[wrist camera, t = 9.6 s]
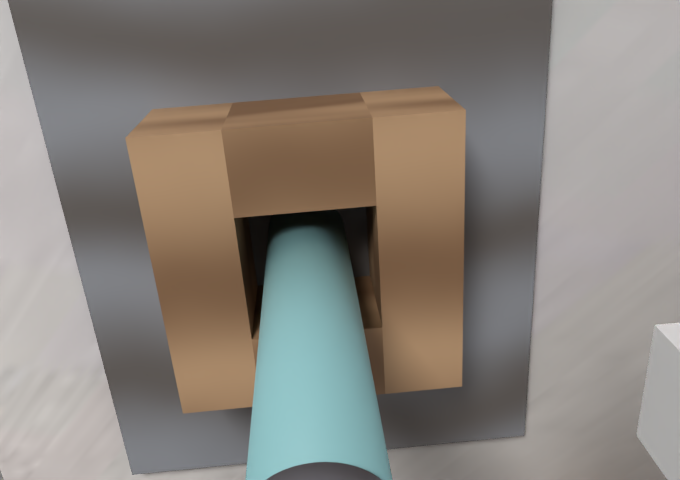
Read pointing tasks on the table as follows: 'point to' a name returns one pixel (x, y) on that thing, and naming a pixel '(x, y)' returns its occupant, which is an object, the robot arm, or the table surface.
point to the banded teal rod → (313, 361)
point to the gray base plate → (297, 197)
